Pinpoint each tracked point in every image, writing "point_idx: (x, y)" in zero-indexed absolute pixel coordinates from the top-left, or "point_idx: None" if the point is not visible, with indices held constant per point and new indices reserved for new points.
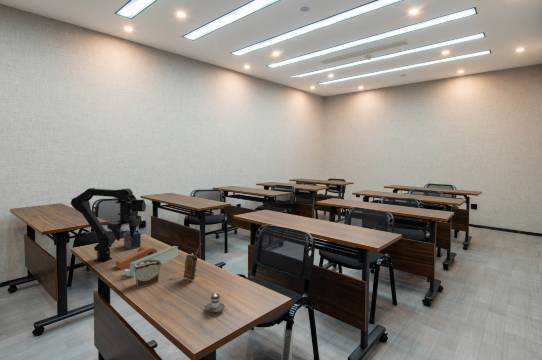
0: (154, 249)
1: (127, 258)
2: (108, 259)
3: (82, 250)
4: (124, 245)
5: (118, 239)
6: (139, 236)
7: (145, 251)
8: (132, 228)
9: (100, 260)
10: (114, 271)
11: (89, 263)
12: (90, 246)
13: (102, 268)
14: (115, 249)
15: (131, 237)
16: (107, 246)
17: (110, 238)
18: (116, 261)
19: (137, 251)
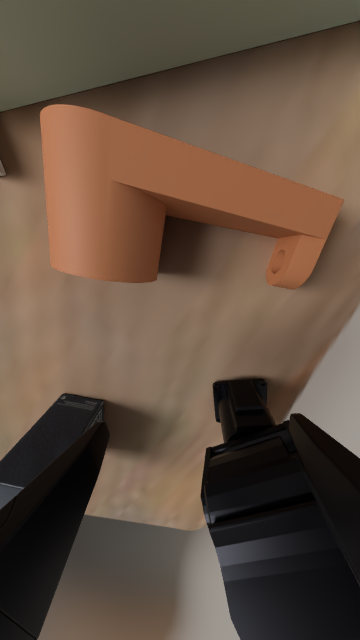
0: (51, 114)
1: (289, 207)
2: (235, 381)
3: None
4: None
5: (316, 426)
6: (12, 457)
7: (150, 133)
8: (8, 594)
9: (264, 393)
10: (346, 219)
11: (292, 405)
12: (165, 518)
13: (326, 314)
14: (133, 453)
15: None
16: (280, 437)
17: (270, 508)
18: (303, 279)
19: (149, 281)
